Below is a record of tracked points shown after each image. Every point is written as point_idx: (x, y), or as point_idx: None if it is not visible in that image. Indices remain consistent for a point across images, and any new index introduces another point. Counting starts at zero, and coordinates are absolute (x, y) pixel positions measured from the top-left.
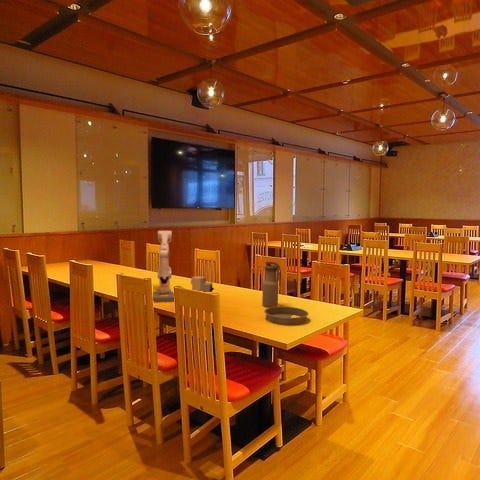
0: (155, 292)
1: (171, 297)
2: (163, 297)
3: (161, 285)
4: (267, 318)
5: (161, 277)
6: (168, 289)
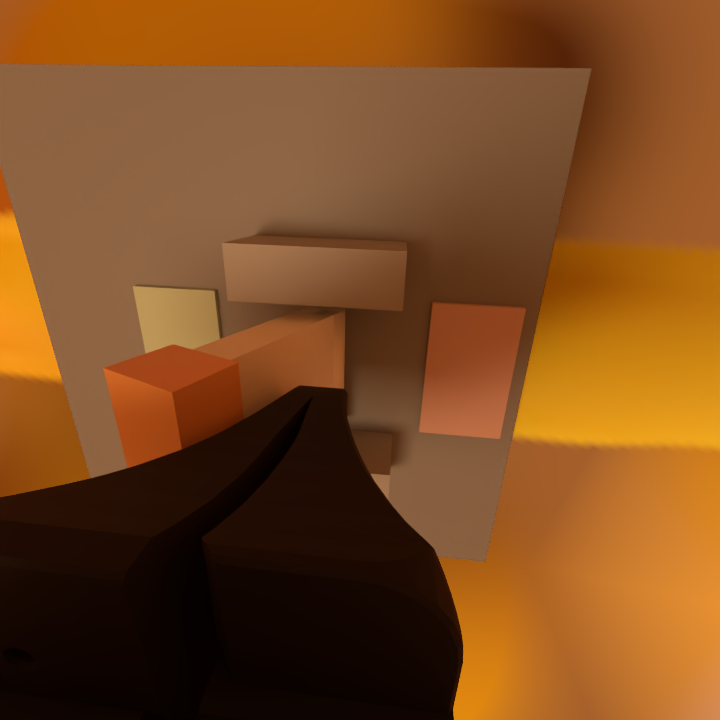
0: (499, 205)
1: (79, 435)
2: (56, 325)
3: (119, 389)
4: None
5: (340, 658)
6: (376, 477)
